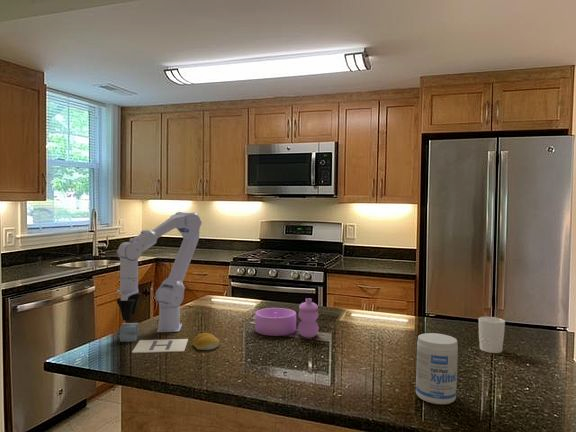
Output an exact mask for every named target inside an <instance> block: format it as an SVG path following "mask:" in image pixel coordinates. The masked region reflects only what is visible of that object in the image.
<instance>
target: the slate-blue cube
mask: <svg viewBox="0 0 576 432" xmlns="http://www.w3.org/2000/svg"><path fill="white" fill-rule="evenodd" d="M138 338H139V322H123V323H122V324H121V325H120V327H119V342H121V343H123V342H127V343H128V342H136V341H137V339H138Z"/></svg>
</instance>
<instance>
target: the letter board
mask: <svg viewBox="0 0 576 432" xmlns="http://www.w3.org/2000/svg"><path fill="white" fill-rule="evenodd" d="M188 342H189V338H178V339H177V338H175V339H174V338H172V339H170V338H169V339H139V340H138V343H137V344H136V345H135V347H134V348H133V350H132V351H131V354H144V353H145V354H146V353H147V354H150V353H151V354H153V353H179V352H181V353H185V350H186V348H187V344H188Z"/></svg>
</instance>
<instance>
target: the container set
mask: <svg viewBox="0 0 576 432" xmlns="http://www.w3.org/2000/svg"><path fill="white" fill-rule="evenodd" d="M312 300H313V299H312V298H310V297H309V298H307V297H306V298H305V302H304V301H303V302H301V303H300V304H299V306H298V309H299V311H298V312H296V310H293V309H290V308H284V307H283V308H282V307H267V308H262V309H258V310H256V311H255V312H254V331H255V332H256V333H258V334H260V335H265V336H271V337H272V336H273V337H274V336H276V337H278V336H287V335H291V334H293V333H295V332H296V331H297V332H298V333H299V335H300V336H301V337H303V338H315V336H316V335H317V334H318V332H319V331H320V330H319V329H320V327H319V324H318V322H317V320H318V318H319V312H318V309H319V306H318V304H317V303H315V302H314V301H312ZM297 313H298V314H297ZM297 315H298V319H299V320H300V322H298V325H297Z"/></svg>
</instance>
